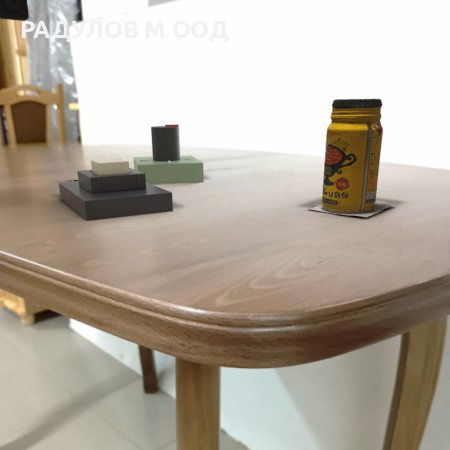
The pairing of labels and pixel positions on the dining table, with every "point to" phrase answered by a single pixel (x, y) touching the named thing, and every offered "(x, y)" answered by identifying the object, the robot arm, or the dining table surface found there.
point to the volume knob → (165, 143)
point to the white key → (110, 166)
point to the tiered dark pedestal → (114, 195)
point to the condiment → (353, 158)
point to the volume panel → (170, 170)
